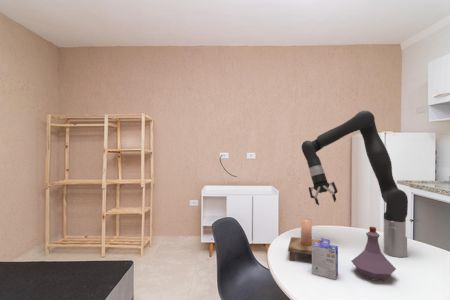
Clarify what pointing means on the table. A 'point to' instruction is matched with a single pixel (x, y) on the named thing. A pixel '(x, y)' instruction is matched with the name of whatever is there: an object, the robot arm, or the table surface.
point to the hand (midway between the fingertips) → (326, 203)
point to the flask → (373, 259)
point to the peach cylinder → (306, 232)
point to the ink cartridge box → (325, 259)
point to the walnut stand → (299, 247)
